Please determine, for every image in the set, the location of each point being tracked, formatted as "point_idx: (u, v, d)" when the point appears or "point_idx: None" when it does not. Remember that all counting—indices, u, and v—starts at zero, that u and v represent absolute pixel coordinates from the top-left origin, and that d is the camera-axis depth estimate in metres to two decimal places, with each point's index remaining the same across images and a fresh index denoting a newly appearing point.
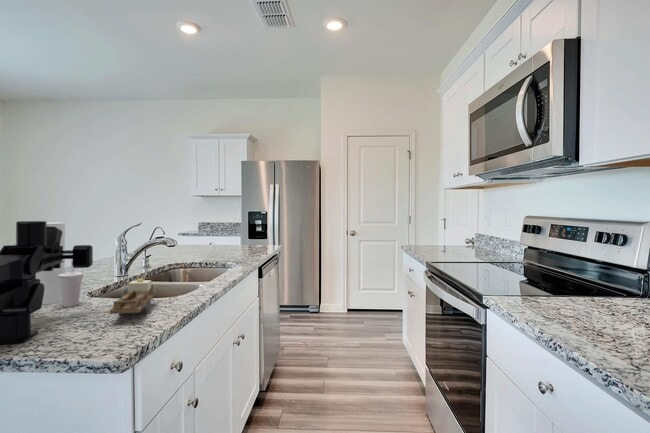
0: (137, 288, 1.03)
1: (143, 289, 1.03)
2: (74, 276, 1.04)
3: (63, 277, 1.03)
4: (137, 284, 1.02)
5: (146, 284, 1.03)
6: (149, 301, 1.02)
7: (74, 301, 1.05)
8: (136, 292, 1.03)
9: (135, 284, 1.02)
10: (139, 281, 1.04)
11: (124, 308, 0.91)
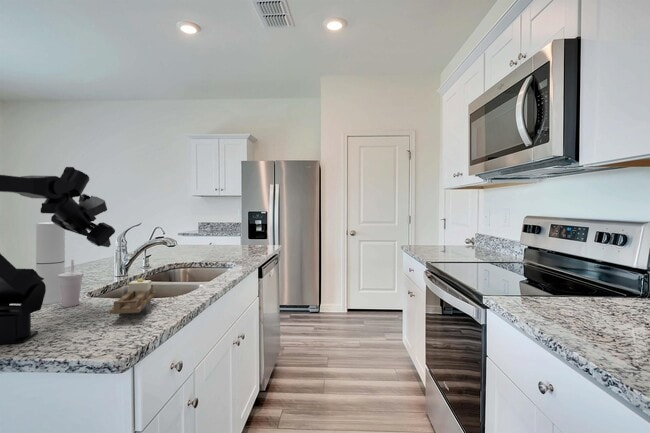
0: (137, 288, 1.03)
1: (143, 289, 1.03)
2: (74, 276, 1.04)
3: (63, 277, 1.03)
4: (137, 284, 1.02)
5: (146, 284, 1.03)
6: (149, 301, 1.02)
7: (74, 301, 1.05)
8: (136, 292, 1.03)
9: (135, 284, 1.02)
10: (139, 281, 1.04)
11: (124, 308, 0.91)
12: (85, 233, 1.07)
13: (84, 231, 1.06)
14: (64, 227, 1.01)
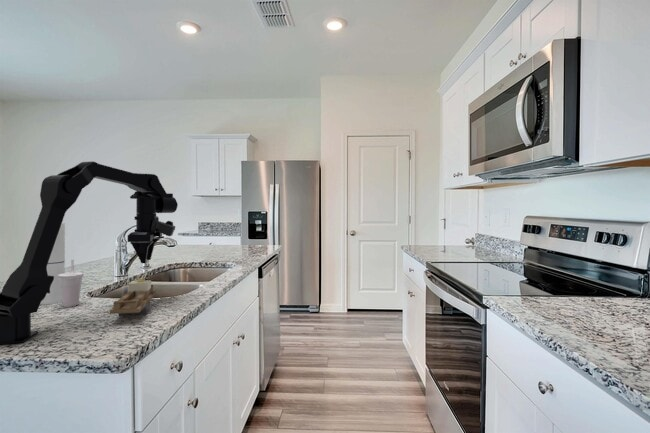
0: (137, 288, 1.03)
1: (143, 289, 1.03)
2: (74, 276, 1.04)
3: (63, 277, 1.03)
4: (137, 284, 1.02)
5: (146, 284, 1.03)
6: (149, 301, 1.02)
7: (74, 301, 1.05)
8: (136, 292, 1.03)
9: (135, 284, 1.02)
10: (139, 281, 1.04)
11: (124, 308, 0.91)
12: (148, 256, 1.14)
13: (148, 254, 1.15)
14: None
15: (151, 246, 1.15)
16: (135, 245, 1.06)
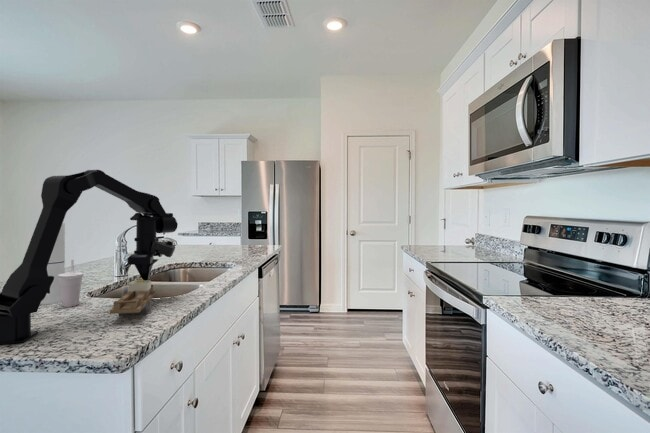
0: (137, 288, 1.03)
1: (143, 289, 1.03)
2: (74, 276, 1.04)
3: (63, 277, 1.03)
4: (137, 284, 1.02)
5: (146, 284, 1.03)
6: (149, 301, 1.02)
7: (74, 301, 1.05)
8: (136, 292, 1.03)
9: (135, 284, 1.02)
10: (139, 281, 1.04)
11: (124, 308, 0.91)
12: None
13: None
14: None
15: None
16: (138, 265, 1.09)
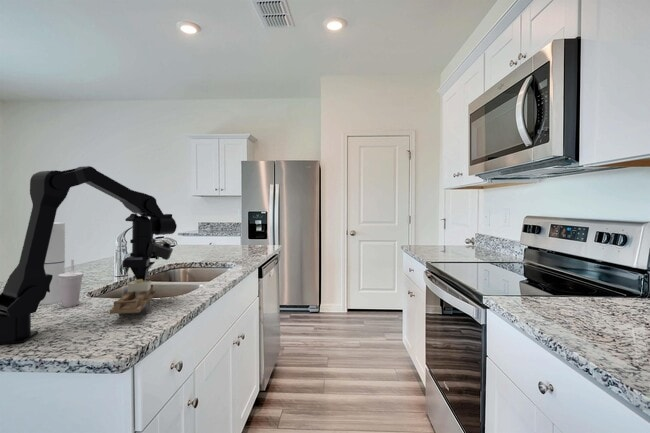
0: (137, 289, 1.02)
1: (143, 289, 1.03)
2: (74, 276, 1.04)
3: (63, 277, 1.03)
4: (137, 284, 1.02)
5: (146, 284, 1.03)
6: (149, 301, 1.02)
7: (74, 301, 1.05)
8: (136, 292, 1.03)
9: (135, 284, 1.02)
10: (139, 281, 1.03)
11: (124, 308, 0.91)
12: None
13: None
14: None
15: None
16: (133, 268, 1.05)
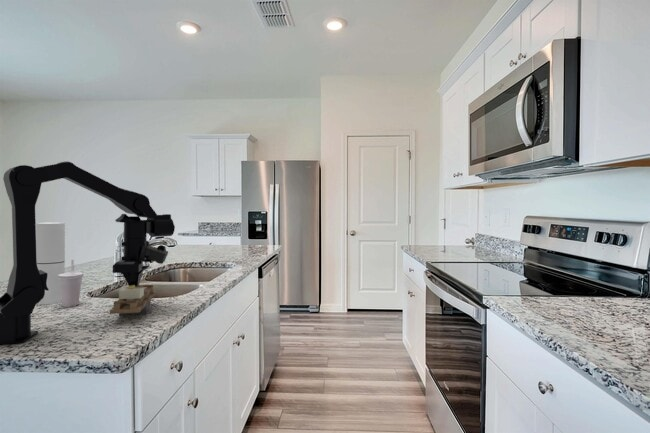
0: (128, 296, 0.94)
1: (135, 296, 0.94)
2: (74, 276, 1.04)
3: (63, 277, 1.03)
4: (128, 291, 0.94)
5: (138, 291, 0.95)
6: (149, 301, 1.02)
7: (74, 301, 1.05)
8: (127, 300, 0.94)
9: (126, 291, 0.94)
10: (130, 288, 0.95)
11: (124, 308, 0.91)
12: None
13: (135, 285, 0.99)
14: None
15: None
16: (125, 273, 0.97)
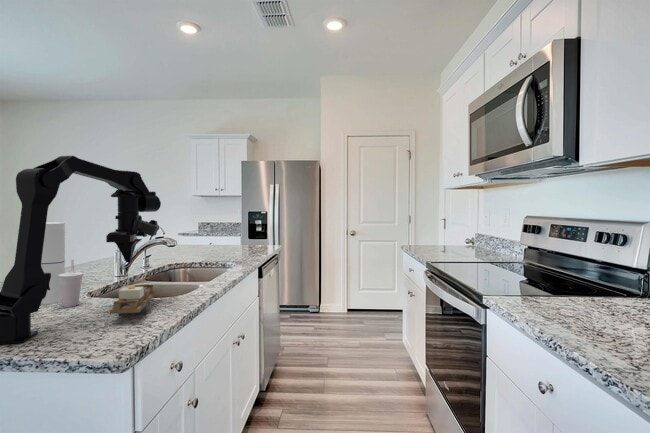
0: (128, 296, 0.94)
1: (135, 297, 0.94)
2: (74, 276, 1.04)
3: (63, 277, 1.03)
4: (128, 291, 0.94)
5: (138, 291, 0.95)
6: (149, 301, 1.02)
7: (74, 301, 1.05)
8: (127, 300, 0.94)
9: (126, 291, 0.94)
10: (130, 288, 0.95)
11: (124, 308, 0.91)
12: None
13: None
14: None
15: None
16: (119, 244, 1.05)
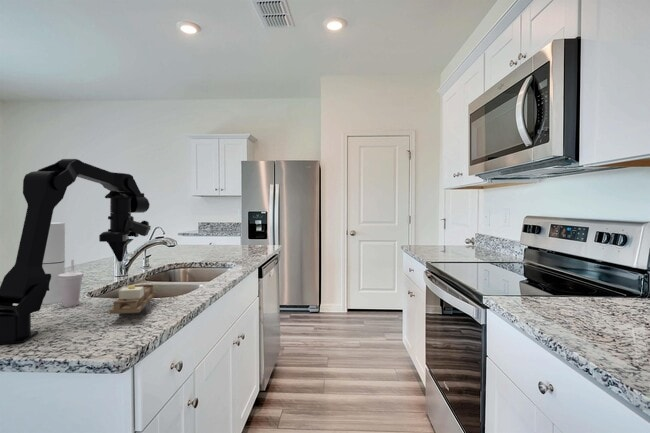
0: (128, 296, 0.94)
1: (135, 297, 0.94)
2: (74, 276, 1.04)
3: (63, 277, 1.03)
4: (128, 291, 0.94)
5: (138, 291, 0.95)
6: (149, 301, 1.02)
7: (74, 301, 1.05)
8: (127, 300, 0.94)
9: (126, 291, 0.94)
10: (130, 288, 0.95)
11: (124, 308, 0.91)
12: None
13: None
14: None
15: None
16: (111, 244, 1.08)
